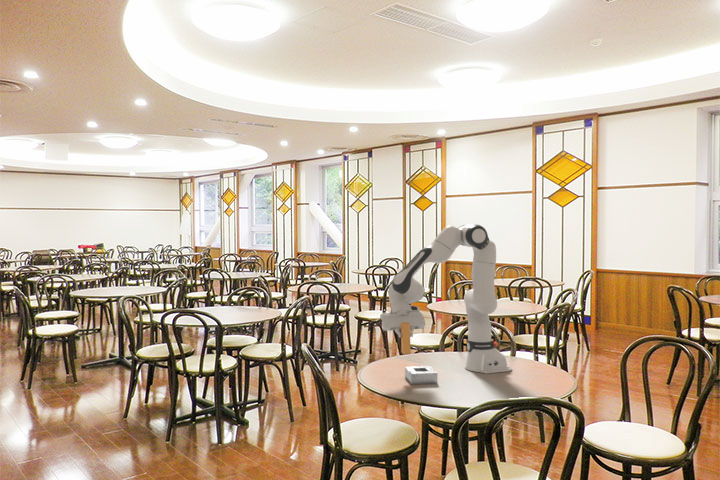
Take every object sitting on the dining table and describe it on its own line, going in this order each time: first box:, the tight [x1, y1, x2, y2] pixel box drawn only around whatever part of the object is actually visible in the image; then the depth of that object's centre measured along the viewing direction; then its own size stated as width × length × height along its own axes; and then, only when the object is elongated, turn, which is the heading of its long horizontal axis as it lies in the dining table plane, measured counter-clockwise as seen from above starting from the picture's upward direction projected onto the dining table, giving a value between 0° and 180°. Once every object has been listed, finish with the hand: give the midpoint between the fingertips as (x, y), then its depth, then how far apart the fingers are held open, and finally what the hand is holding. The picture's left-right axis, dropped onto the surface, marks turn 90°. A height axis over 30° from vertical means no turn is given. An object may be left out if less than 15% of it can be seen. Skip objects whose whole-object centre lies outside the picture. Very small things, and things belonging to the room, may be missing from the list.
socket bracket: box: [404, 365, 438, 386], centre depth 240 cm, size 12×12×5 cm
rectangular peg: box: [400, 322, 412, 355], centre depth 243 cm, size 4×4×14 cm
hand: (406, 336), depth 243 cm, fingers closed on rectangular peg, 3 cm apart
